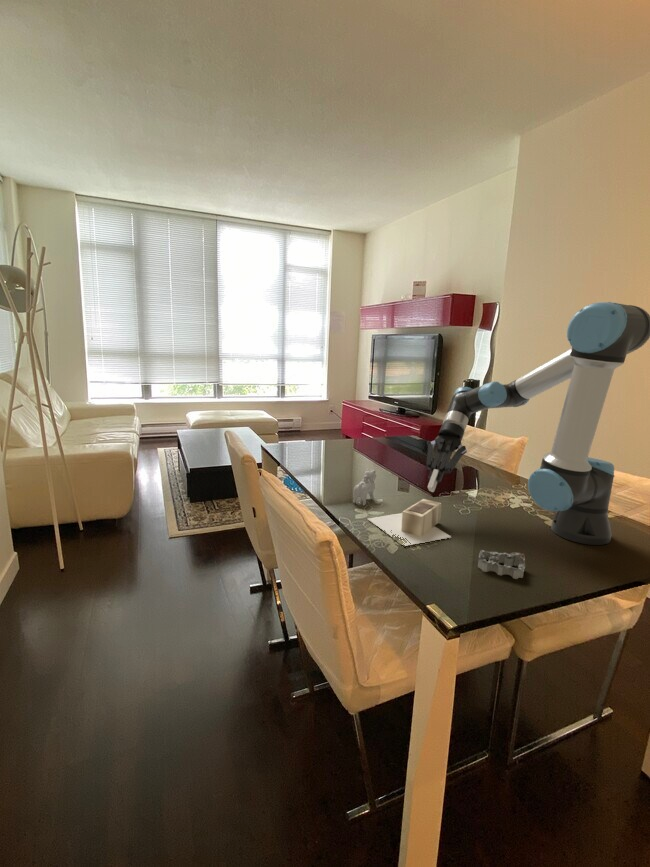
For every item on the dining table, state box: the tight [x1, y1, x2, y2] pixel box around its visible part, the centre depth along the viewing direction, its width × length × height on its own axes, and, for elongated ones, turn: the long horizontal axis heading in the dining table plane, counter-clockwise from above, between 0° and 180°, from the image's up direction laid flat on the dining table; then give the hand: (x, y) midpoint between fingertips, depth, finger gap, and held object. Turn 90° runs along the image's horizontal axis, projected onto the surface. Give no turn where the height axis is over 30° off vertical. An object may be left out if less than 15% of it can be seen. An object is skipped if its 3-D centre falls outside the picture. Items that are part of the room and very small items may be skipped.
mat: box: [367, 512, 452, 546], centre depth 126 cm, size 20×16×1 cm
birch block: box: [401, 498, 442, 537], centre depth 126 cm, size 6×6×14 cm
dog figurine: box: [352, 468, 377, 506], centre depth 148 cm, size 5×13×11 cm, turn 151°
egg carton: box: [477, 549, 526, 580], centre depth 104 cm, size 11×8×4 cm
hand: (430, 489), depth 129 cm, fingers closed
